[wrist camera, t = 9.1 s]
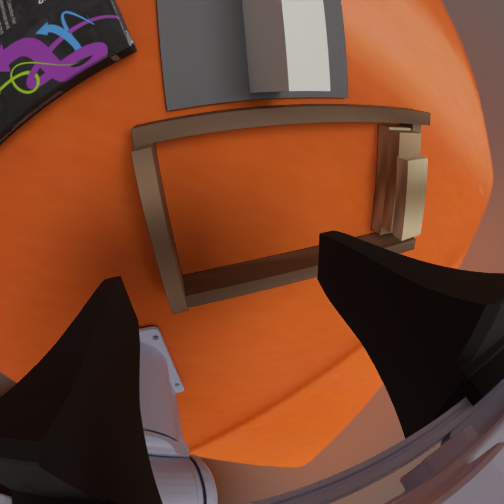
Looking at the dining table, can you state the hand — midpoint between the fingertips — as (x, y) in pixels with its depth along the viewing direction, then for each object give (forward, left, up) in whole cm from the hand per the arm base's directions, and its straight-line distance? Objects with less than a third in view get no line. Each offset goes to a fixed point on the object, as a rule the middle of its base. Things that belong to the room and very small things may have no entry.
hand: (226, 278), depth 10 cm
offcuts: (-1, -15, -10) cm, 18 cm away
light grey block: (+10, -5, -10) cm, 15 cm away
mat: (+10, -5, -10) cm, 15 cm away
